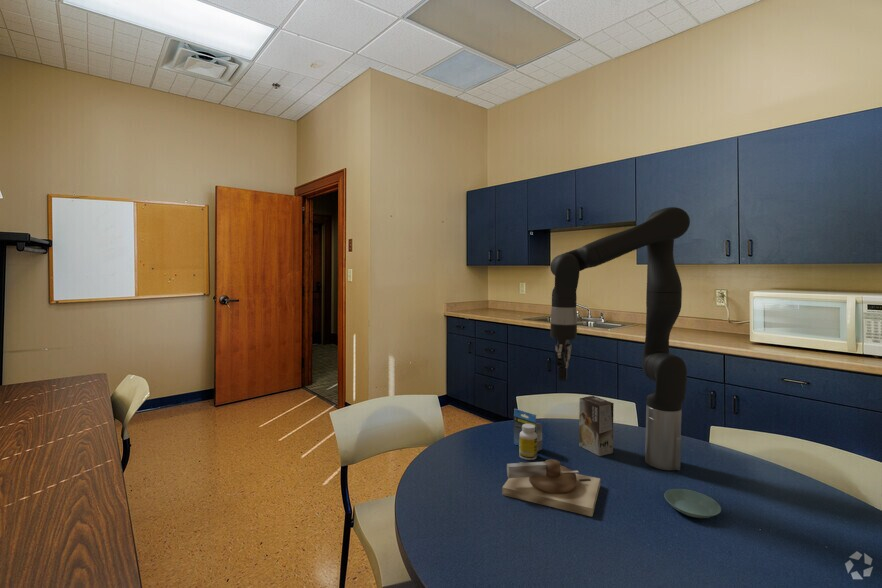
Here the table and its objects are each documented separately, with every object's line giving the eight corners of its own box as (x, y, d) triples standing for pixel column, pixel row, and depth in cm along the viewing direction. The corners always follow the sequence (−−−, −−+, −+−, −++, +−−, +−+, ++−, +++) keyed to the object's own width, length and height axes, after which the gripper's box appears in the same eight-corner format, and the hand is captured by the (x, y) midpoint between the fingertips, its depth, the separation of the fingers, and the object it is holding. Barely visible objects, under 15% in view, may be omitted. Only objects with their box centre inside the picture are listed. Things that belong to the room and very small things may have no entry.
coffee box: (614, 453, 135) (615, 403, 134) (598, 456, 132) (599, 405, 131) (592, 442, 143) (593, 395, 142) (577, 445, 140) (578, 397, 139)
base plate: (600, 485, 114) (600, 477, 114) (592, 516, 100) (592, 507, 100) (519, 468, 124) (519, 461, 124) (502, 494, 110) (502, 486, 110)
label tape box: (542, 449, 137) (543, 412, 137) (535, 453, 135) (536, 415, 134) (520, 441, 144) (520, 405, 143) (513, 445, 141) (513, 408, 140)
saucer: (717, 504, 105) (718, 495, 105) (723, 530, 95) (724, 520, 95) (664, 492, 111) (664, 484, 111) (663, 515, 100) (664, 506, 100)
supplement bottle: (537, 461, 129) (537, 429, 128) (519, 459, 130) (519, 428, 129) (536, 453, 134) (537, 423, 134) (519, 452, 135) (519, 422, 135)
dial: (568, 469, 119) (568, 451, 118) (588, 491, 107) (588, 471, 106) (501, 473, 116) (501, 455, 116) (514, 496, 104) (514, 476, 104)
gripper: (572, 325, 118) (572, 387, 119) (580, 320, 130) (579, 376, 131) (545, 323, 122) (545, 383, 123) (555, 319, 134) (554, 373, 135)
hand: (562, 379), depth 127 cm, fingers closed
